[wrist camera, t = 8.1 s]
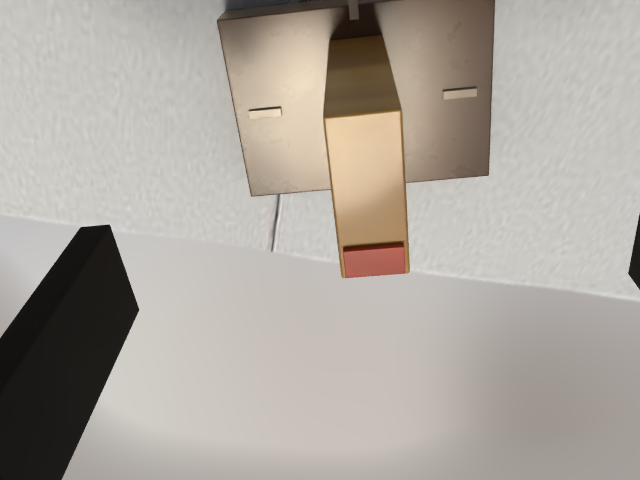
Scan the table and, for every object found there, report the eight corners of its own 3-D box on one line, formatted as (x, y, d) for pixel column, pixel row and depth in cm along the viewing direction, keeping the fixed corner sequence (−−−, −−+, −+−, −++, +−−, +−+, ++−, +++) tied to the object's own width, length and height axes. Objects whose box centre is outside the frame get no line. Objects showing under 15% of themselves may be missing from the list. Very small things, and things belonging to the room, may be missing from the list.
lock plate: (259, 193, 30) (253, 214, 28) (221, -11, 25) (211, -2, 23) (479, 174, 29) (489, 194, 27) (485, -43, 24) (497, -36, 22)
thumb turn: (328, 40, 24) (321, 119, 16) (382, 34, 24) (403, 111, 16) (341, 164, 27) (341, 283, 19) (390, 160, 27) (410, 278, 19)
